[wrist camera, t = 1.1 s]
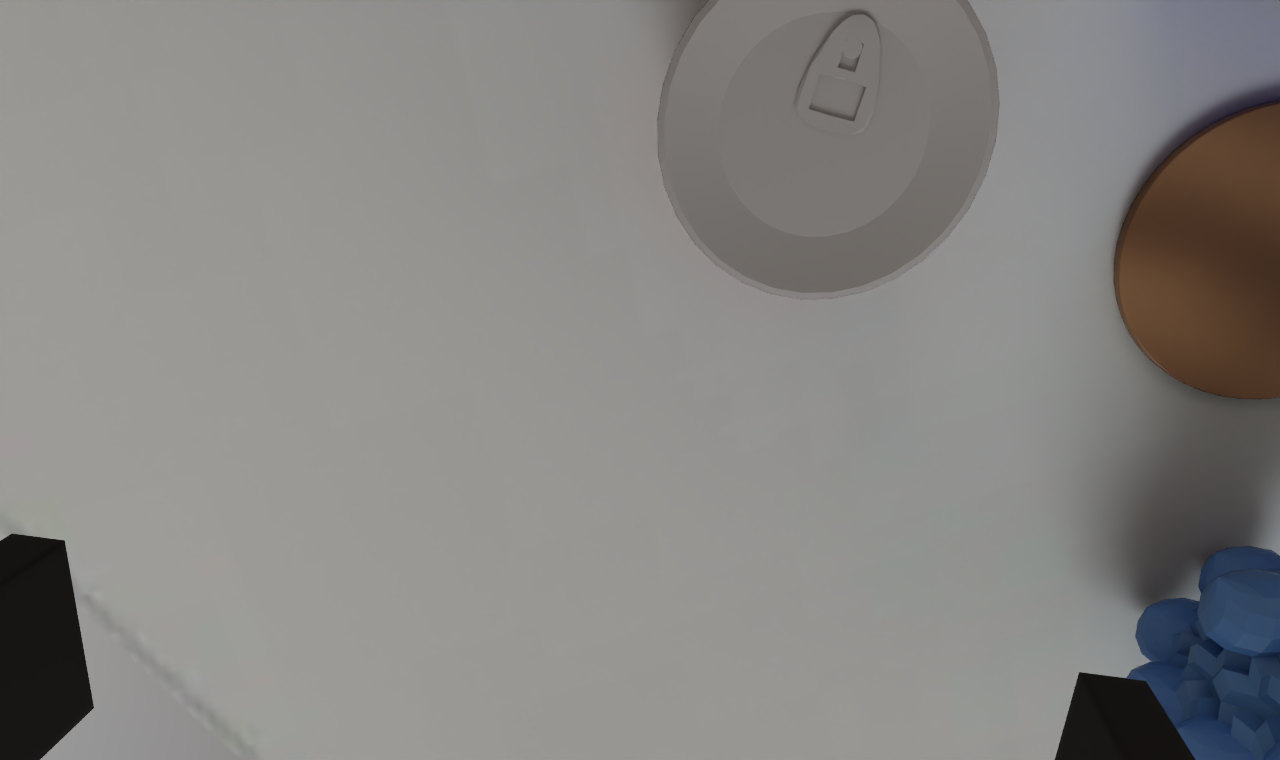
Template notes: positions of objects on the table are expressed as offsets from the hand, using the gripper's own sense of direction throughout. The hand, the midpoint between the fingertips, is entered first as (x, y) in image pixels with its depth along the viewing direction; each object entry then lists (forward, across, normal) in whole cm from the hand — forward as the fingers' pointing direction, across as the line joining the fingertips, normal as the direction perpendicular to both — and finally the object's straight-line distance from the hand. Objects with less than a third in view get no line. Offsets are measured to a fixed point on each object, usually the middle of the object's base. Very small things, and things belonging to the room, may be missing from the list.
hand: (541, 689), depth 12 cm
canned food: (+23, +4, +6) cm, 24 cm away
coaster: (+23, +20, +3) cm, 30 cm away
